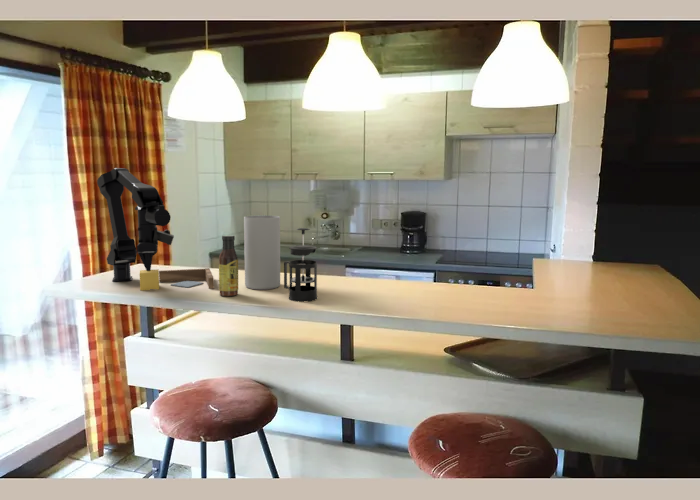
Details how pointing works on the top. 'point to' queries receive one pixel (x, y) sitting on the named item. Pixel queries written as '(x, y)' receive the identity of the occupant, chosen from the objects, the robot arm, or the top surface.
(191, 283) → the pad
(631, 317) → the top surface
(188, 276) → the corner arena
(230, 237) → the sauce bottle
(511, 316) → the top surface
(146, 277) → the ochre cube
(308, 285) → the french press
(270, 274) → the cylinder vase
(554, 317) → the top surface
